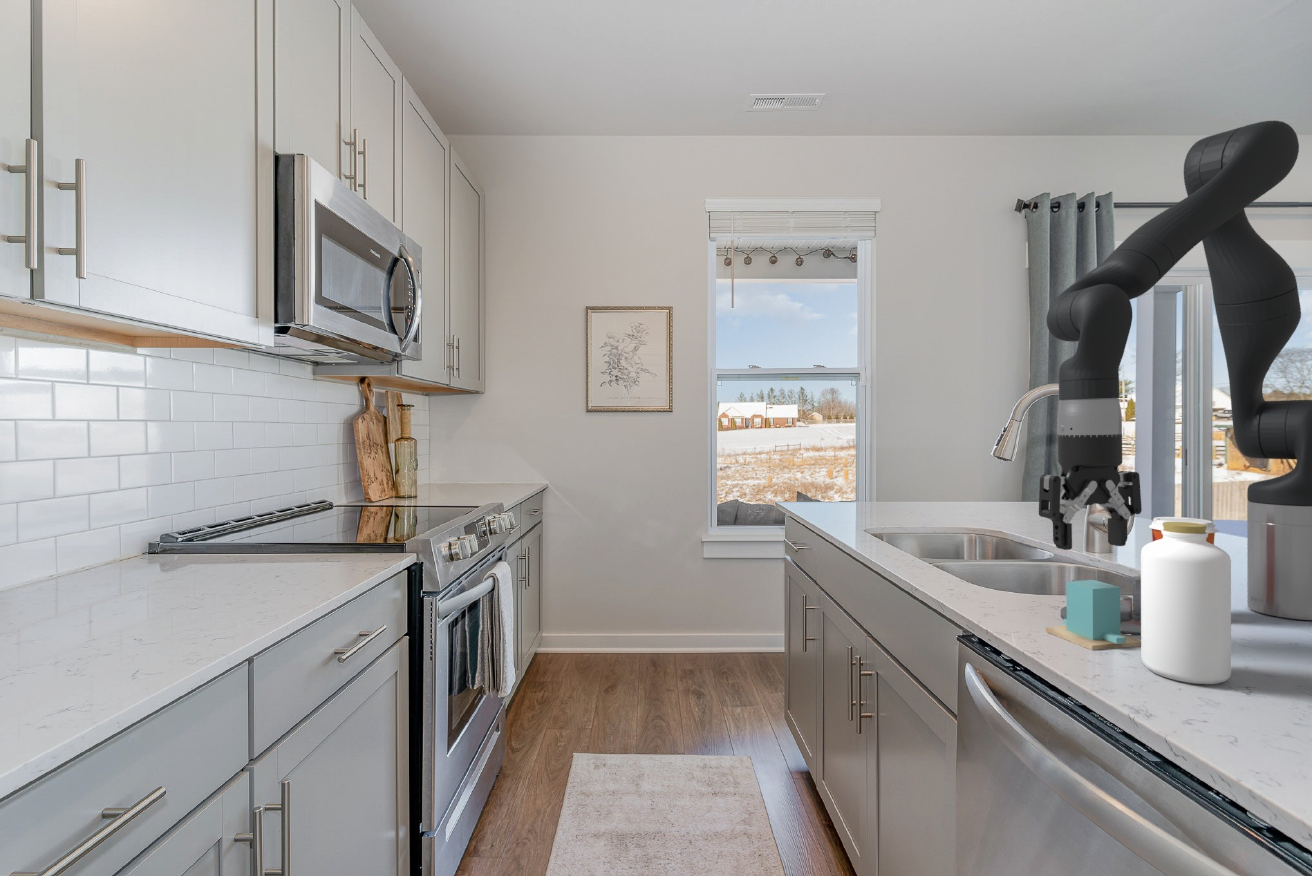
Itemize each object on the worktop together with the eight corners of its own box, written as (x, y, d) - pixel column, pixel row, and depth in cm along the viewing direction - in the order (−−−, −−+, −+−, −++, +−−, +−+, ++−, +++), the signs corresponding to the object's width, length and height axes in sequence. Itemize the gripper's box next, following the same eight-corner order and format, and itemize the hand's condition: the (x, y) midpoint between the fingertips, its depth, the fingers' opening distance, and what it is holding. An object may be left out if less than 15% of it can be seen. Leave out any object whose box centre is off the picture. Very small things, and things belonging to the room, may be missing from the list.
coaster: (1093, 627, 95) (1093, 623, 95) (1143, 645, 87) (1143, 641, 87) (1045, 631, 94) (1045, 627, 94) (1092, 650, 86) (1092, 645, 86)
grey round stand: (1110, 607, 106) (1110, 568, 105) (1189, 631, 93) (1189, 587, 93) (1040, 612, 103) (1040, 572, 103) (1111, 638, 90) (1111, 592, 90)
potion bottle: (1142, 656, 83) (1142, 517, 83) (1229, 671, 78) (1229, 522, 78) (1139, 676, 77) (1138, 525, 77) (1233, 694, 72) (1232, 531, 71)
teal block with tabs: (1135, 643, 87) (1134, 591, 86) (1106, 645, 86) (1106, 593, 86) (1080, 623, 95) (1080, 576, 95) (1054, 625, 94) (1054, 578, 94)
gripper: (1065, 434, 86) (1067, 555, 86) (1157, 430, 88) (1158, 549, 88) (1024, 433, 93) (1025, 545, 93) (1110, 429, 95) (1111, 539, 96)
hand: (1090, 547), depth 91 cm, fingers open, 8 cm apart
